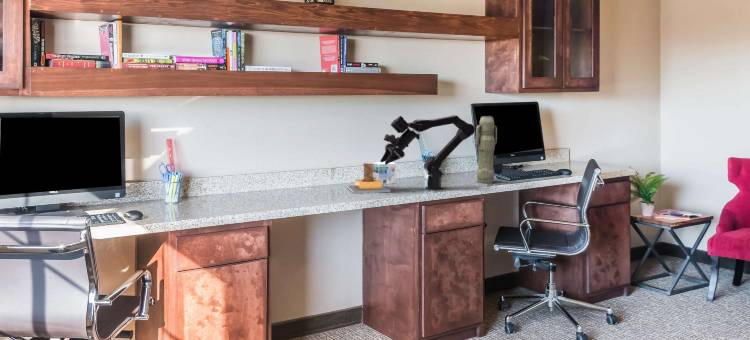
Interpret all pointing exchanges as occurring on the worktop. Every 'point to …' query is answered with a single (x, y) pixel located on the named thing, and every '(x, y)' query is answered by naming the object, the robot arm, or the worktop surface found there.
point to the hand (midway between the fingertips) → (382, 162)
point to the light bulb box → (384, 172)
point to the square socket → (368, 186)
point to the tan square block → (368, 172)
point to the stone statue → (486, 149)
